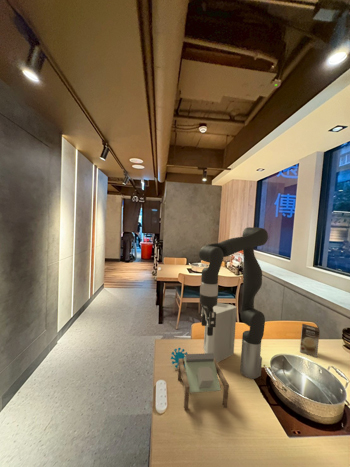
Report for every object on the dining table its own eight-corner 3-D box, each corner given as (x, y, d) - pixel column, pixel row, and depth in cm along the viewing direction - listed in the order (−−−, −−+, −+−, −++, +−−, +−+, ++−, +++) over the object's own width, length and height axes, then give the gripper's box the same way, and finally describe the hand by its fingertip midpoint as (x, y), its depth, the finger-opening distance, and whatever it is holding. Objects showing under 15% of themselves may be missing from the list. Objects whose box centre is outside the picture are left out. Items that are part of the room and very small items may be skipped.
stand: (177, 377, 102) (178, 358, 101) (213, 376, 104) (214, 357, 104) (184, 410, 84) (185, 387, 83) (227, 407, 86) (228, 384, 86)
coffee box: (299, 352, 130) (301, 326, 129) (299, 347, 135) (301, 323, 135) (317, 358, 125) (319, 331, 124) (317, 352, 130) (319, 327, 130)
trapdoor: (184, 357, 99) (185, 353, 97) (212, 356, 101) (214, 353, 99) (188, 392, 87) (189, 389, 85) (220, 390, 89) (222, 387, 87)
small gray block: (207, 374, 93) (210, 367, 89) (210, 387, 89) (213, 380, 85) (196, 375, 92) (199, 367, 89) (198, 388, 88) (201, 380, 85)
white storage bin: (215, 342, 136) (217, 299, 135) (234, 353, 125) (237, 307, 124) (193, 351, 124) (196, 305, 123) (213, 365, 113) (216, 314, 112)
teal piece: (171, 368, 106) (171, 346, 113) (168, 370, 110) (168, 349, 117) (192, 368, 109) (190, 347, 115) (188, 371, 113) (186, 350, 119)
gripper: (223, 298, 83) (221, 338, 83) (212, 287, 97) (210, 322, 97) (205, 298, 81) (202, 339, 82) (196, 287, 96) (194, 322, 96)
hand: (206, 330), depth 90 cm, fingers open, 8 cm apart
